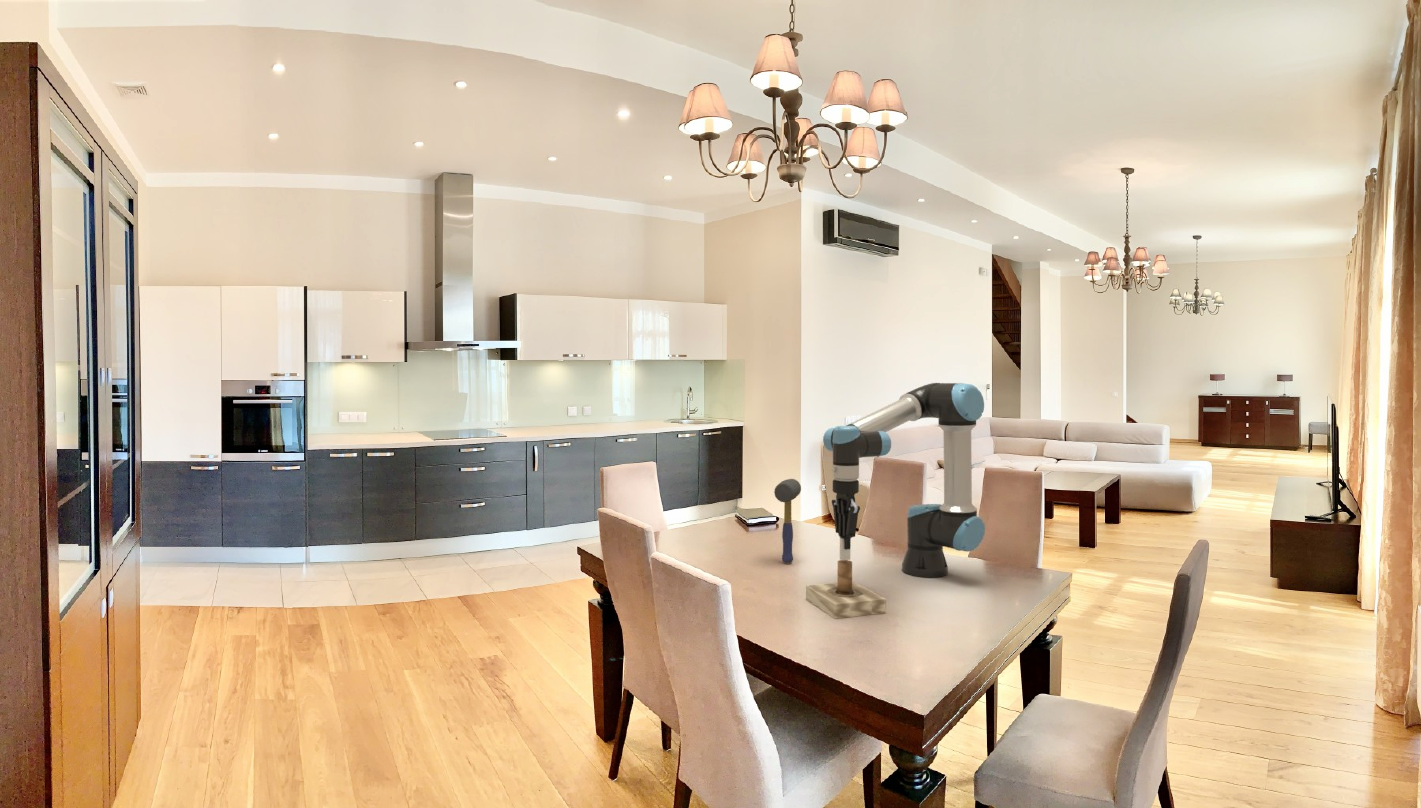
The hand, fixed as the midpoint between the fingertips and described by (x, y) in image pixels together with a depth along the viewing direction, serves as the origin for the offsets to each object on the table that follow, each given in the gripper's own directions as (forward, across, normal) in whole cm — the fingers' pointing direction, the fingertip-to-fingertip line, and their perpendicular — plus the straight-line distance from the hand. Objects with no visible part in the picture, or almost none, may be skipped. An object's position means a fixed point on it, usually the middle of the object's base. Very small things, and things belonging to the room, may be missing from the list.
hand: (845, 559), depth 222 cm
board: (+14, 0, 0) cm, 14 cm away
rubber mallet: (+14, -50, +4) cm, 52 cm away
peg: (+14, 0, 0) cm, 14 cm away
